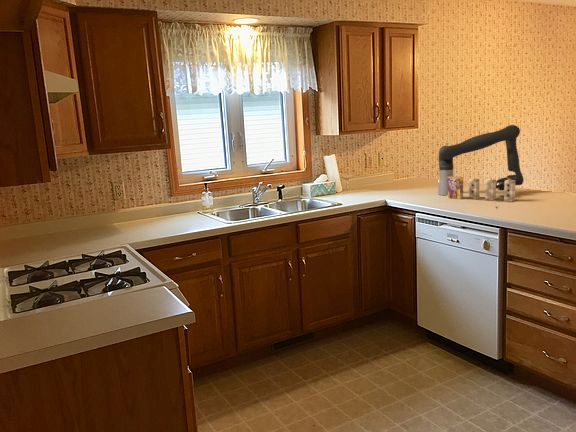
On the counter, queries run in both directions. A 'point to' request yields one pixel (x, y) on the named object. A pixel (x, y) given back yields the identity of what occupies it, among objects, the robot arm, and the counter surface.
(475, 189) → the dotted block left
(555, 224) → the counter surface
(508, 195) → the dotted block right
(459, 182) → the candy box
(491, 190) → the plain birch block
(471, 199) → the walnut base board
